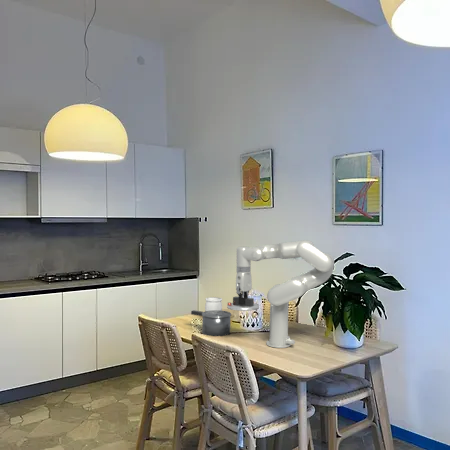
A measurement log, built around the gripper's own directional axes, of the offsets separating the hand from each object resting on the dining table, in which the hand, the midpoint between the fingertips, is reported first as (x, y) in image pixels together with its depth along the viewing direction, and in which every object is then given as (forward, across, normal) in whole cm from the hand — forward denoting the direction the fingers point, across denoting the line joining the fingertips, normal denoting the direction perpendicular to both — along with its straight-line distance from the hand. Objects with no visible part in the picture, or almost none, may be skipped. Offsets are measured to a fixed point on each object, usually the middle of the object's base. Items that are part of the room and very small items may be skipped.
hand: (243, 303), depth 240 cm
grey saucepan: (+20, +7, +26) cm, 33 cm away
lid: (+2, 0, 0) cm, 2 cm away
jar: (+20, +27, +36) cm, 50 cm away
